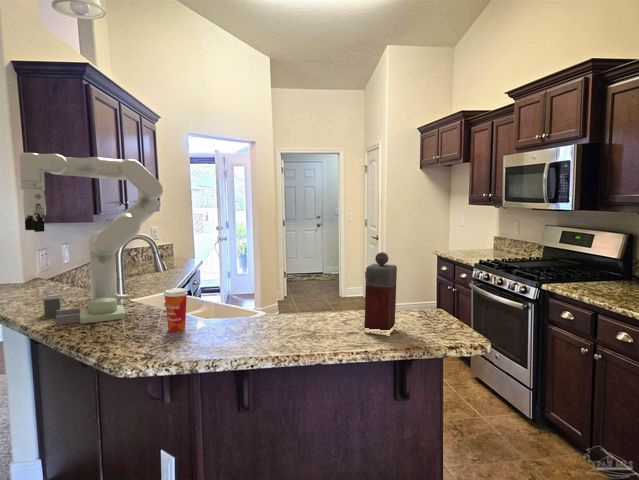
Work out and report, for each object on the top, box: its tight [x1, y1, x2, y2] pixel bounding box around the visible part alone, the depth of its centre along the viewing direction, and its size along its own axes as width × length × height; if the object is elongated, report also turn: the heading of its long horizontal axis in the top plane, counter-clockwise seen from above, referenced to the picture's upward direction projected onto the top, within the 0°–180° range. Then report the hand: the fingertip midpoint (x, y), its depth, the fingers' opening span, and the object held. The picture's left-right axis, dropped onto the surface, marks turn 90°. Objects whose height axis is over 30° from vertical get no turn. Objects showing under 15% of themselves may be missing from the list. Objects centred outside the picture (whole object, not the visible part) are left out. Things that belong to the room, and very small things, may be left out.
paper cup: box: [163, 287, 189, 333], centre depth 143 cm, size 8×8×14 cm
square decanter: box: [364, 251, 398, 330], centre depth 146 cm, size 9×11×28 cm
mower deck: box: [55, 298, 127, 326], centre depth 157 cm, size 22×14×6 cm, turn 120°
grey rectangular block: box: [43, 294, 62, 319], centre depth 159 cm, size 5×6×7 cm
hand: (34, 230), depth 159 cm, fingers open, 9 cm apart
